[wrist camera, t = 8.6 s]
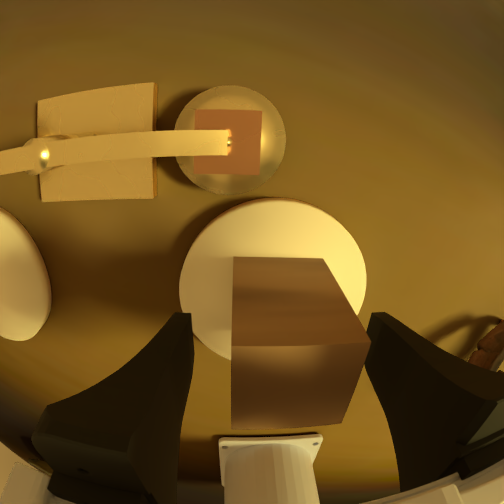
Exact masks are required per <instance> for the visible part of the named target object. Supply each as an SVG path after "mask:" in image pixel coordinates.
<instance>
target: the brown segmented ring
mask: <svg viewBox="0 0 504 504" xmlns="http://www.w3.org/2000/svg"><path fill="white" fill-rule="evenodd" d="M477 349H478V351H474V352H473V353H472V355H471V357H470V359H469V361H468V362H469V363H471V364H474V365H476V366H479V367H482V368H485V369H488V370H491V371H494V372H496V371H497V369H498V368H499V366H500V365H501V363H502V362H503V360H504V320H501V321H500V324H498V325H497V326H496V327H495V328H494V329H492V330H491V331H490V332H489V333H488V334H487V335H486V336H485V337H484V338H483V339H481V340H480V341H479V343H478V345H477ZM498 373H502V374H504V372H503V371H501V370H499V371H498Z"/></svg>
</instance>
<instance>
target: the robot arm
mask: <svg viewBox="0 0 504 504" xmlns="http://www.w3.org/2000/svg"><path fill="white" fill-rule="evenodd" d="M366 333H367V335H368V337H369V338H370V340H371V344H370V348H369V351H368V354H367V357H366V360H365V363H364V365H365V368H366V371H367V374H368V376H369V378H370V381H371V383H372V385H373V387H374V390H375V392H376V394H377V396H378V399H379V401H380V403H381V405H382V408H383V410H384V413H385V415H386V418H387V421H388V425H389V428H390V432H391V436H392V440H393V444H394V449H395V453H396V459H397V465H398V471H399V480H400V491H401V493H399V494H396V495H392V496H389V497H385V498H381V499H377V500H373V501H369V502H365V503H361V504H504V374H502V373H498V372H494V371H491V370H488V369H485V368H482V367H479V366H476V365H474V364H471V363H469V362H466V361H464V360H462V359H460V358H458V357H456V356H454V355H452V354H450V353H448V352H446V351H444V350H442V349H441V348H439V347H437V346H436V345H434V344H432V343H431V342H429V341H428V340H426V339H425V338H423V337H422V336H420V335H419V334H417V333H416V332H414V331H413V330H411V329H410V328H408V327H407V326H406V325H404V324H403V323H401V322H400V321H398V320H397V319H395V318H394V317H392V316H391V315H389V314H387V313H385V312H376V313H372V314H371V318H370V321H369V325H368V328H367V332H366ZM193 364H194V343H193V330H192V316H191V313H179V312H176V313H174V314H173V315H172V317H171V318H170V319H169V320H168V321H167V323H166V324H165V325H164V326H163V327H162V329H161V330H160V331H159V332H158V333H157V334H156V335H155V336H154V338H153V339H152V340H151V341H150V342H149V343H148V344H147V345H146V346H145V347H144V348H143V349H142V350H141V351H140V352H139V353H138V354H137V355H136V356H135V357H133V358H132V359H131V360H130V361H129V362H128V363H126V364H125V365H124V366H123V367H121V368H120V369H119V370H117V371H116V372H115V373H113V374H112V375H110V376H108V377H107V378H105V379H104V380H102V381H101V382H99V383H97V384H96V385H94V386H92V387H90V388H88V389H86V390H84V391H82V392H80V393H78V394H76V395H74V396H71V397H69V398H66V399H64V400H61V401H58V402H56V403H53V404H50V405H47V407H46V408H45V410H44V412H43V414H42V415H41V417H40V420H39V422H38V424H37V426H36V428H35V430H34V432H33V435H32V437H31V440H32V443H33V446H34V447H35V449H36V450H37V452H38V453H39V454H40V455H41V457H42V458H43V459H44V460H45V461H46V462H47V464H48V465H49V466H50V467H51V468H52V469H53V473H52V476H51V478H50V477H49V476H47V475H46V474H44V473H42V472H40V471H38V470H35V469H33V468H30V467H28V466H25V465H23V464H21V463H19V462H15V464H14V466H13V468H12V471H11V473H10V475H9V478H8V481H7V483H6V485H5V488H4V491H3V493H2V496H1V499H0V504H177V475H178V458H179V444H180V433H181V426H182V420H183V415H184V411H185V406H186V402H187V397H188V393H189V388H190V384H191V379H192V374H193ZM322 440H323V437H322V435H321V434H311V435H299V436H283V437H248V438H240V437H223V438H220V439H219V457H220V469H221V481H222V485H223V486H225V504H320V503H319V497H318V492H317V487H316V482H315V477H314V471H313V466H312V464H313V462H314V459H315V457H316V455H317V452H318V450H319V448H320V445H321V443H322Z"/></svg>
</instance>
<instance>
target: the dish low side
mask: <svg viewBox="0 0 504 504" xmlns="http://www.w3.org/2000/svg"><path fill="white" fill-rule="evenodd" d="M233 256H236V257H282V258H323V259H324V261H325V262H326V264H327V266H328V267H329V269H330V271H331V272H332V274H333V276H334V277H335V279H336V281H337V282H338V284H339V286H340V288H341V289H342V291H343V293H344V294H345V296H346V298H347V300H348V301H349V303H350V305H351V306H352V308H353V310H354V312H355V313H356V315H358V313H359V311H360V308H361V306H362V303H363V300H364V296H365V290H366V270H365V264H364V260H363V257H362V254H361V252H360V250H359V247H358V245H357V244H356V242H355V241H354V239H353V238H352V236H351V235H350V234H349V233H348V231H347V230H346V229H345V228H344V227H343V226H342V225H341V224H340V223H339V222H338V221H337V220H336V219H335V218H333V217H332V216H331V215H330V214H328V213H327V212H325V211H324V210H322V209H320V208H319V207H317V206H314V205H312V204H309V203H307V202H304V201H300V200H296V199H290V198H282V197H273V198H262V199H255V200H251V201H248V202H244V203H241V204H239V205H236V206H234V207H232V208H230V209H228V210H226V211H225V212H223V213H221V214H220V215H218V216H217V217H216V218H214V219H213V220H212V221H211V222H210V223H208V224H207V225H206V226H205V228H204V229H203V230H202V231H201V232H200V233H199V234H198V236H197V237H196V239H195V240H194V242H193V243H192V245H191V247H190V249H189V251H188V254H187V256H186V259H185V262H184V265H183V268H182V271H181V276H180V282H179V297H180V304H181V308H182V311H183V313H191V316H192V330H193V333H194V334H195V335H196V336H197V337H198V338H199V340H200V341H201V342H202V343H203V344H205V345H206V346H207V347H208V348H209V349H211V350H212V351H214V352H215V353H217V354H219V355H220V356H222V357H224V358H226V359H229V360H231V331H232V288H233Z"/></svg>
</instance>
